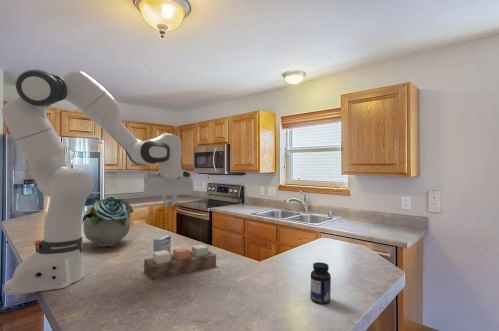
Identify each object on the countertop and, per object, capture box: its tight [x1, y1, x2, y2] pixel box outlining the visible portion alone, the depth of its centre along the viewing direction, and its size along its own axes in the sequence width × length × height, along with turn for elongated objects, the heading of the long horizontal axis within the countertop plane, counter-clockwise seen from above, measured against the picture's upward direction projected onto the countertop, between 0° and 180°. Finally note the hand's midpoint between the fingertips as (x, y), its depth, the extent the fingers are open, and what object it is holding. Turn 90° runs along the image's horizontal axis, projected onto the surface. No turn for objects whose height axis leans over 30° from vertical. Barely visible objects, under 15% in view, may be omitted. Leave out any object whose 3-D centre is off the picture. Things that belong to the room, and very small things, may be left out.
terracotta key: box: [172, 246, 191, 261], centre depth 111 cm, size 5×5×4 cm
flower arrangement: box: [82, 196, 134, 248], centre depth 141 cm, size 25×25×24 cm
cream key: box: [152, 250, 172, 264], centre depth 107 cm, size 5×5×4 cm
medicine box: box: [152, 234, 172, 253], centre depth 126 cm, size 8×4×9 cm, turn 168°
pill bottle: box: [309, 262, 332, 305], centre depth 87 cm, size 6×6×11 cm
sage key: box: [190, 244, 209, 257], centre depth 116 cm, size 5×5×4 cm
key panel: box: [143, 250, 217, 281], centre depth 111 cm, size 26×10×4 cm, turn 127°
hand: (168, 206), depth 115 cm, fingers closed
